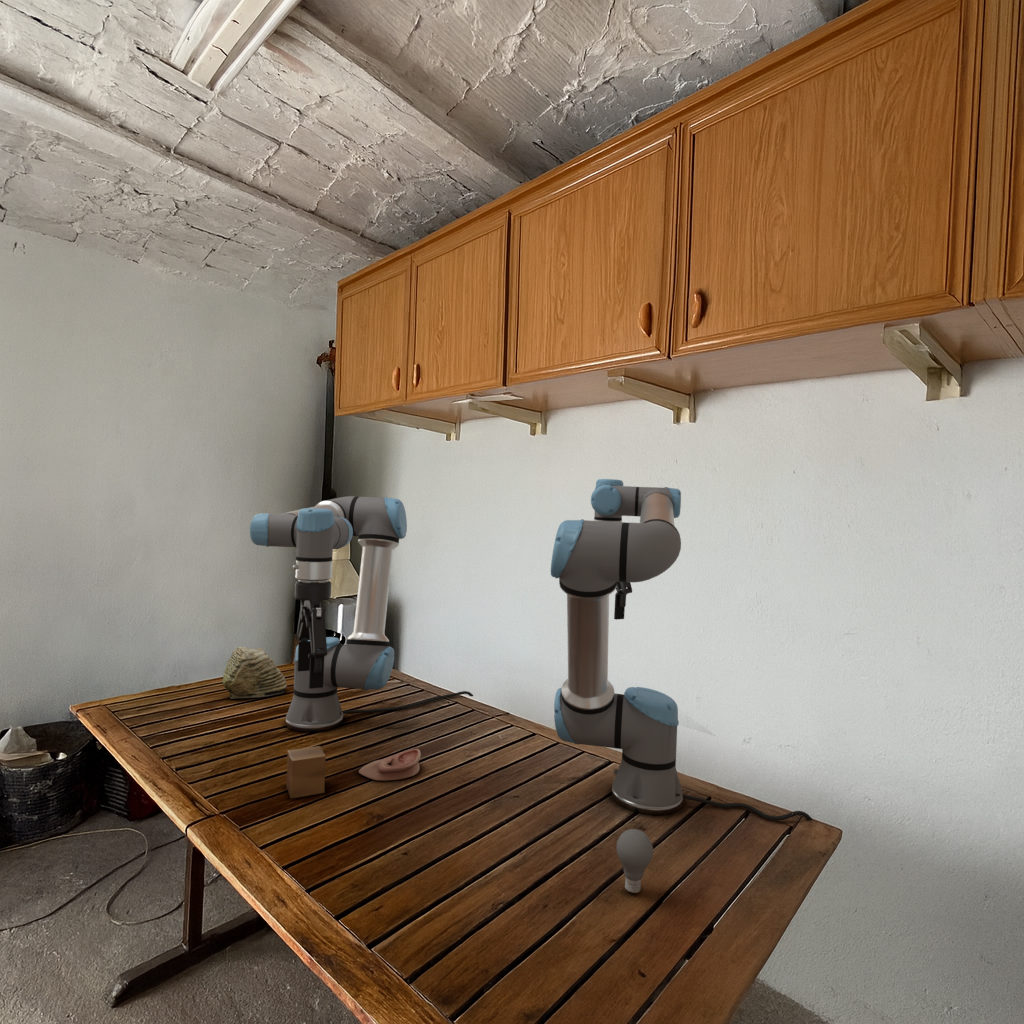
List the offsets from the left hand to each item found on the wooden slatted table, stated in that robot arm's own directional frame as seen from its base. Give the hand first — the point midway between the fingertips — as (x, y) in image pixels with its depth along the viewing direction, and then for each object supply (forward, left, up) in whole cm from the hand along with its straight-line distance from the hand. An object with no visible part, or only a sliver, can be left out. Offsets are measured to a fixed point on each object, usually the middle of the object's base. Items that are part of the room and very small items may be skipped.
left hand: (309, 678), depth 136 cm
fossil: (-26, -67, -24) cm, 75 cm away
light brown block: (0, 0, -24) cm, 24 cm away
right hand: (-70, +31, +10) cm, 78 cm away
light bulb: (-16, +70, -24) cm, 76 cm away
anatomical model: (-19, +6, -24) cm, 31 cm away
